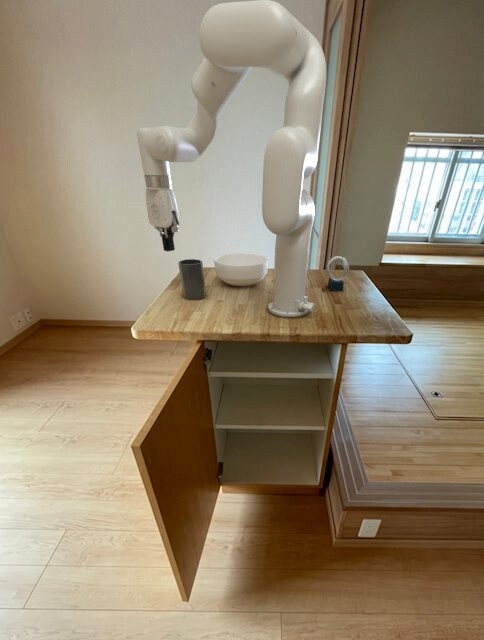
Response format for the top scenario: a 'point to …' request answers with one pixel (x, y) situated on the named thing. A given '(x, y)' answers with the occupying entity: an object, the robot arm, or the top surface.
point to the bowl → (241, 268)
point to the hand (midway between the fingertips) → (169, 250)
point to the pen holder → (192, 279)
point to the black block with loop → (337, 283)
